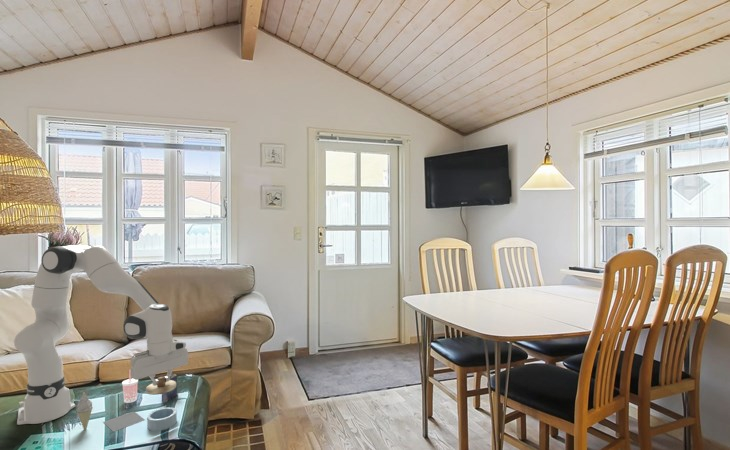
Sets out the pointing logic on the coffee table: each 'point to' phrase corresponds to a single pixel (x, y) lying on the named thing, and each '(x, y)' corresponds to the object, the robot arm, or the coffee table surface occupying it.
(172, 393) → the flask
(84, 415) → the ice cream cone
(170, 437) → the coffee table surface
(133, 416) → the mat
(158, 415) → the bowl
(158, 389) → the lid
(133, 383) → the beverage cup
